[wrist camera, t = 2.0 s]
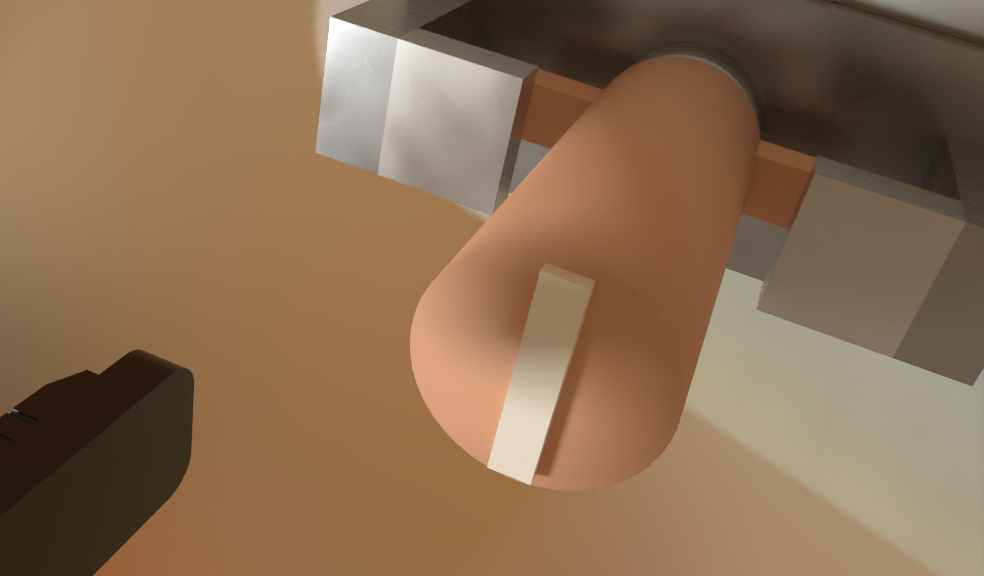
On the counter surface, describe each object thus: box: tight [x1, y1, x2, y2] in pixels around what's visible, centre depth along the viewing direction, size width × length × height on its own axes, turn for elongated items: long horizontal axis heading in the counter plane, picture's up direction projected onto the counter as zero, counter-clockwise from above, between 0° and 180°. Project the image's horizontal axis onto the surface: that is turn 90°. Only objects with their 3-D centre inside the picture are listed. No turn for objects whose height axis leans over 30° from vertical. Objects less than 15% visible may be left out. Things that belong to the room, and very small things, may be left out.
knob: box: [410, 56, 816, 491], centre depth 20 cm, size 5×9×12 cm, turn 78°
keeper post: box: [316, 0, 984, 386], centre depth 24 cm, size 8×18×7 cm, turn 78°
